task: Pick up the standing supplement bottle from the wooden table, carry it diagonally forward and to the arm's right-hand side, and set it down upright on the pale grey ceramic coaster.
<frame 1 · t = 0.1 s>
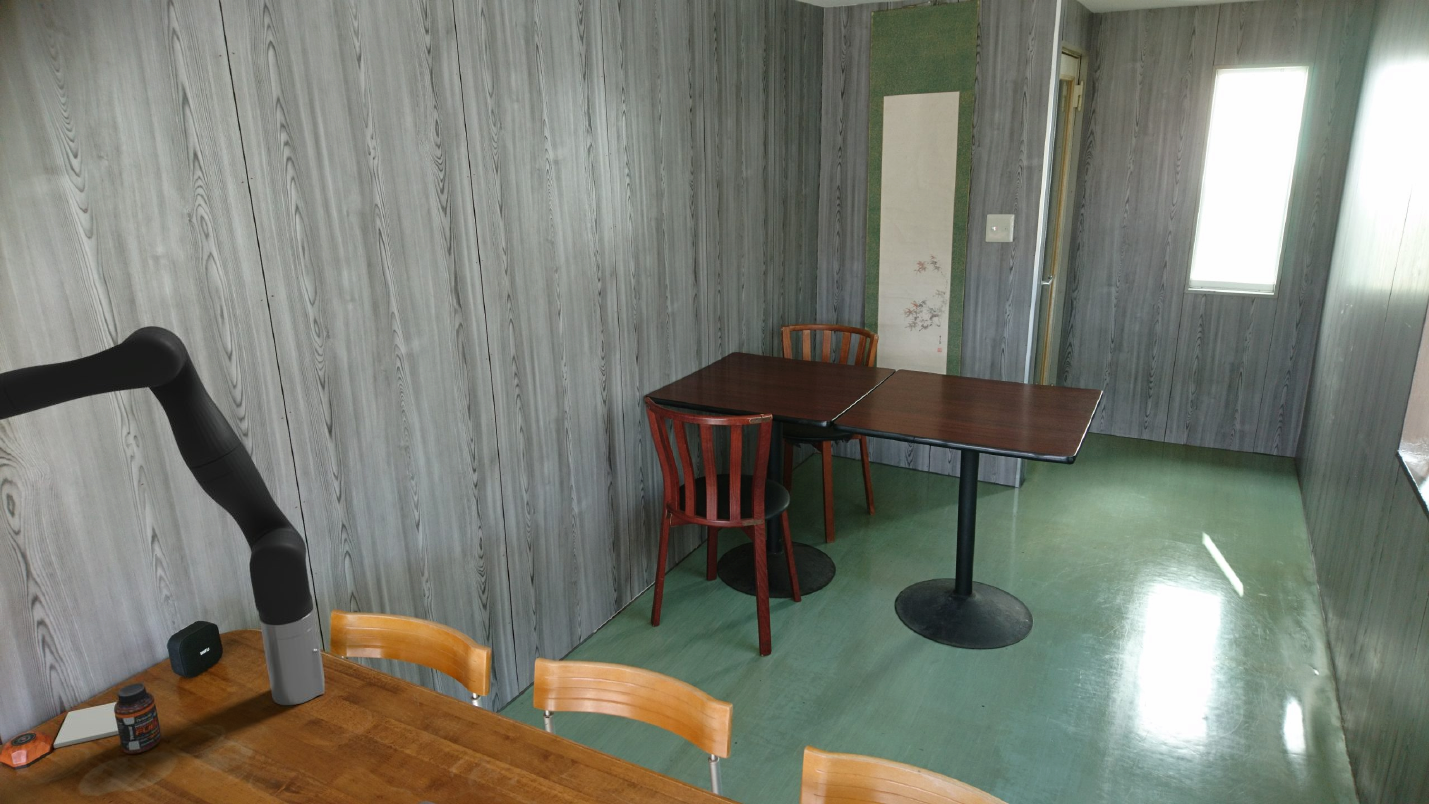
supplement bottle: (142, 745, 151), on the table
coaster: (95, 724, 156), on the table
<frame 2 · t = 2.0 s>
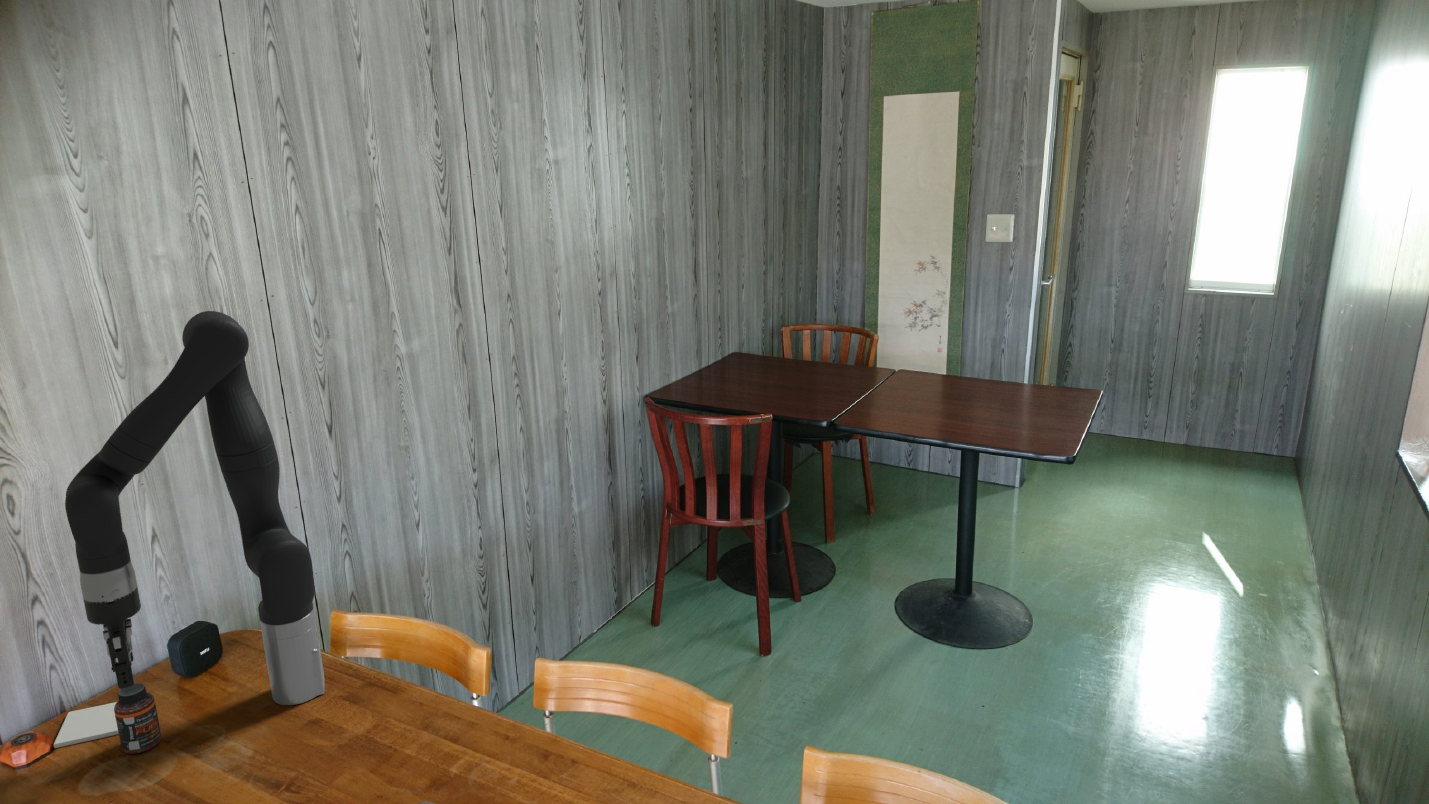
hand: (126, 674, 146), 14 cm above the table, tool pointing down, fingers open, 8 cm apart
nothing on the table moved.
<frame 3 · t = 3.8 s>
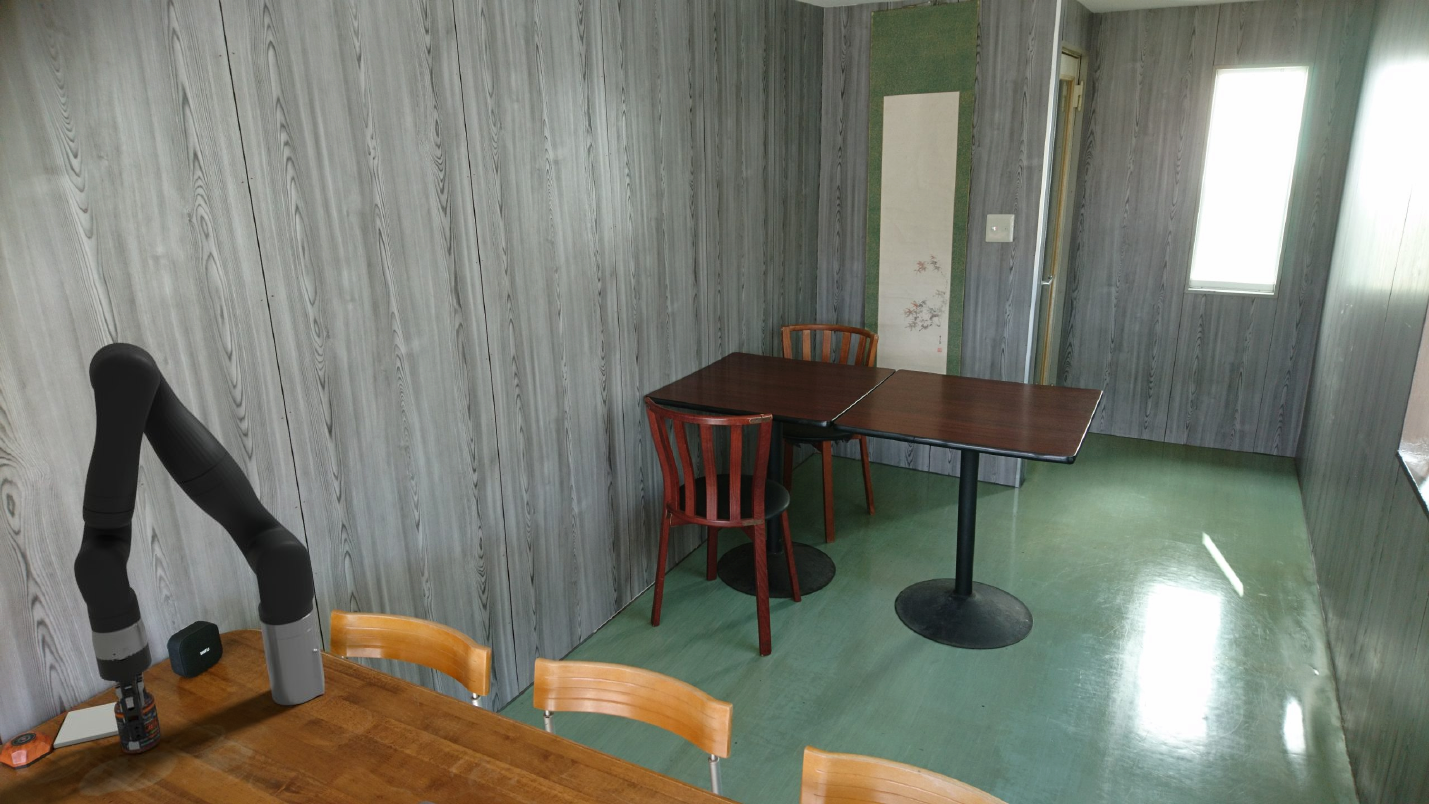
hand: (139, 729, 150), 3 cm above the table, tool pointing down, fingers closed on supplement bottle, 6 cm apart
supplement bottle: (142, 745, 151), on the table, touching gripper
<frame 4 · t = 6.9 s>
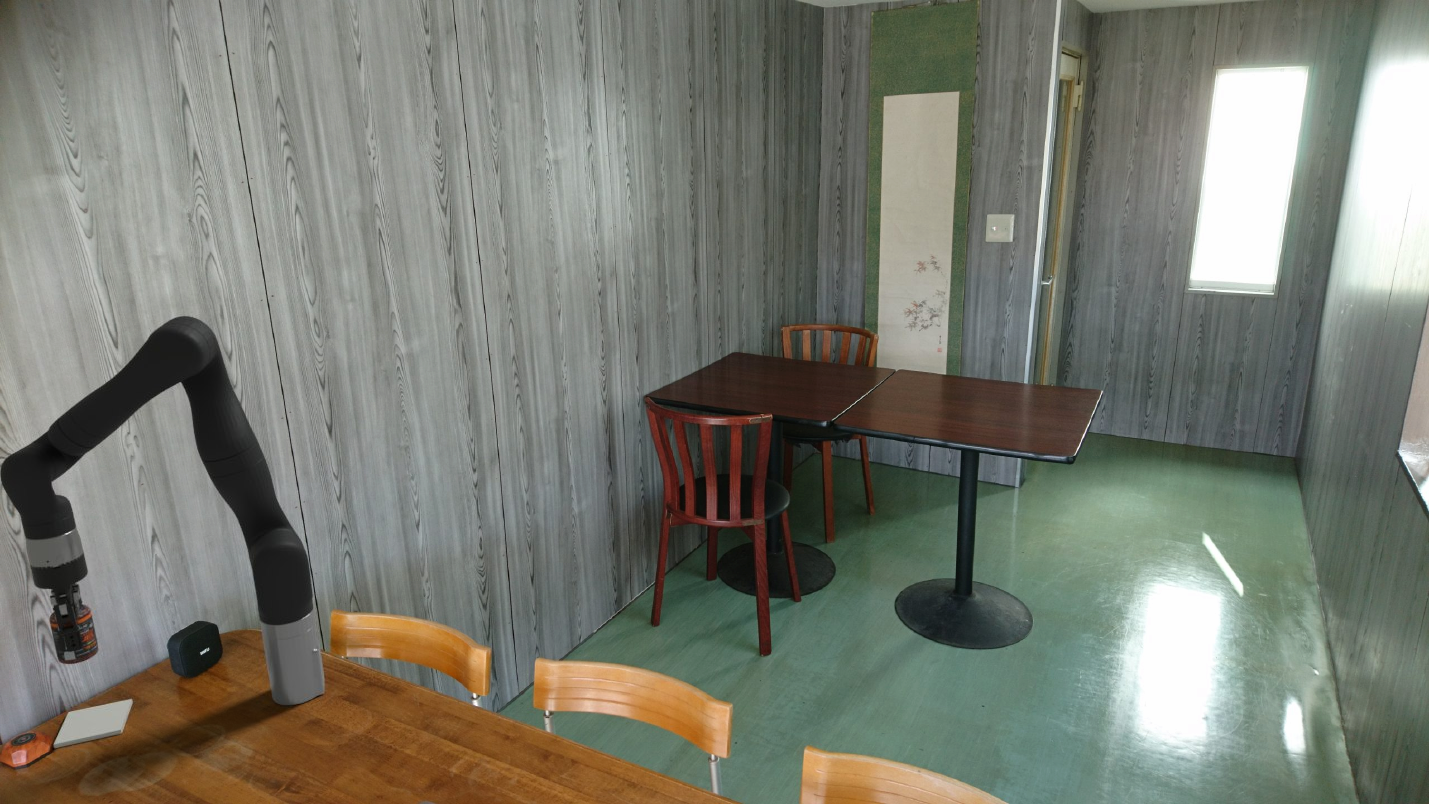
hand: (76, 641, 151), 17 cm above the table, tool pointing down, fingers closed on supplement bottle, 6 cm apart
supplement bottle: (79, 657, 152), point 14 cm above the table, touching gripper
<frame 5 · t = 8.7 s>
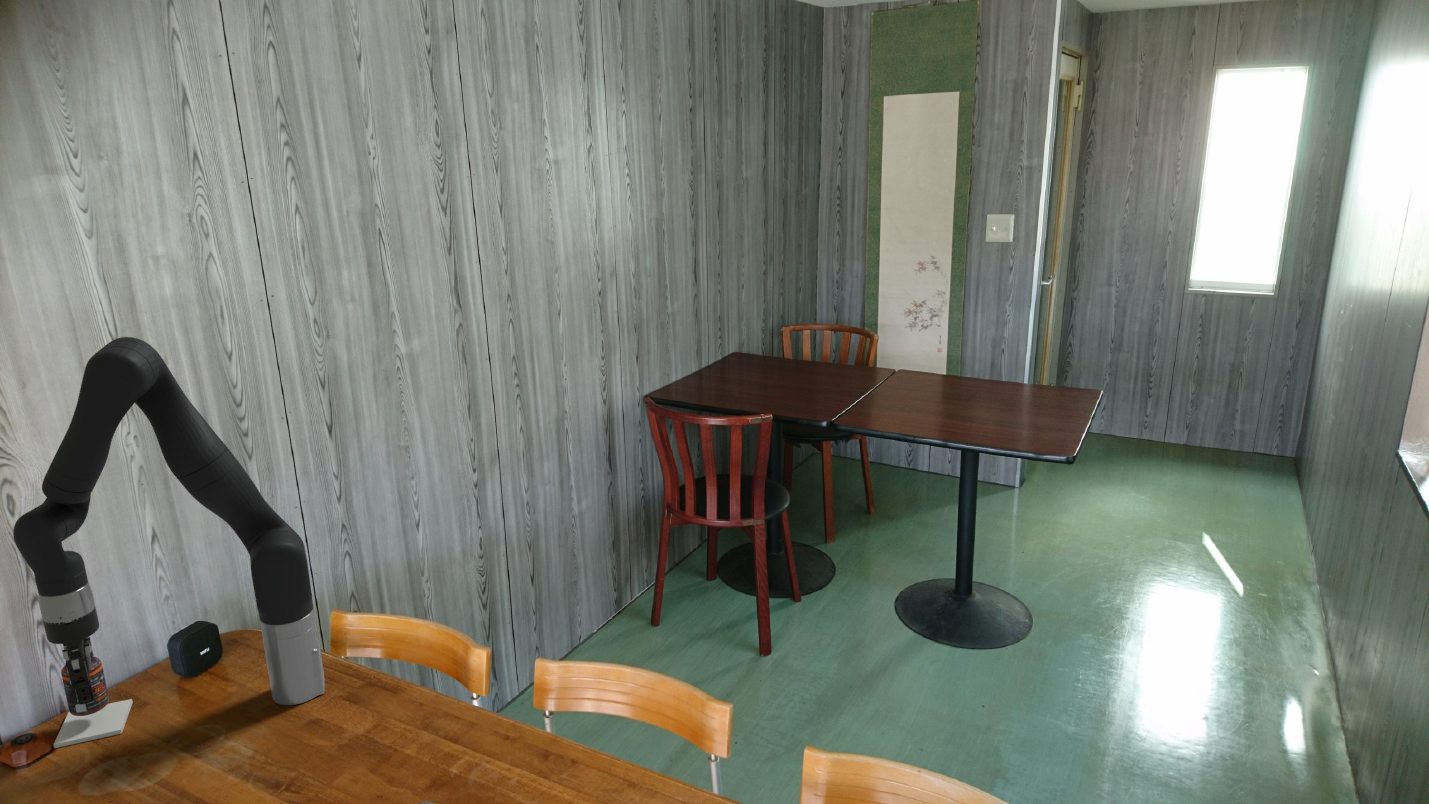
hand: (87, 692, 154), 7 cm above the table, tool pointing down, fingers closed on supplement bottle, 6 cm apart
supplement bottle: (90, 708, 155), point 4 cm above the table, touching gripper
when the fingers open (5 cm above the table, at t = 10.0 s): supplement bottle drops 1 cm, resting on coaster.
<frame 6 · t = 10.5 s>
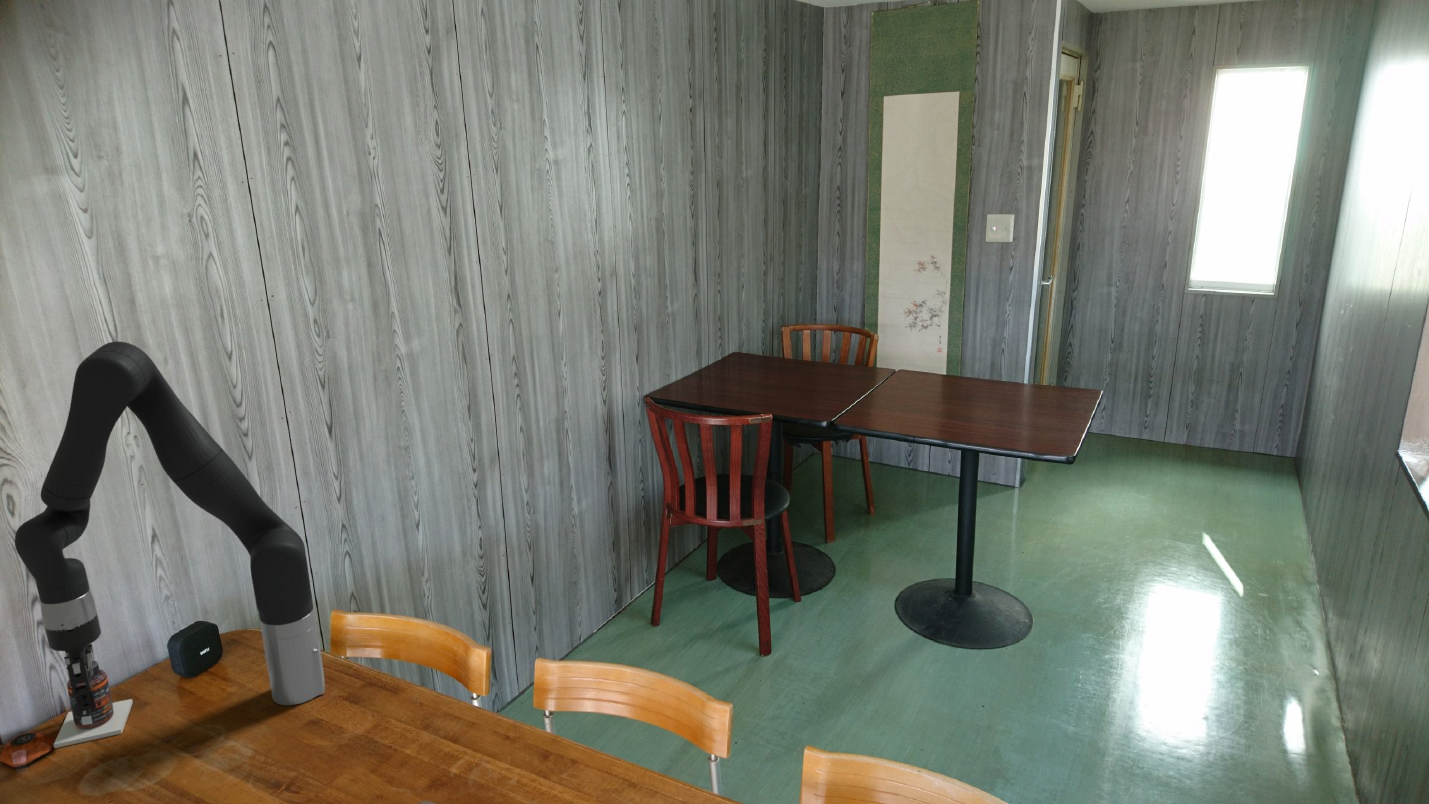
hand: (88, 696, 154), 6 cm above the table, tool pointing down, fingers open, 8 cm apart
supplement bottle: (95, 720, 156), point 1 cm above the table, touching coaster
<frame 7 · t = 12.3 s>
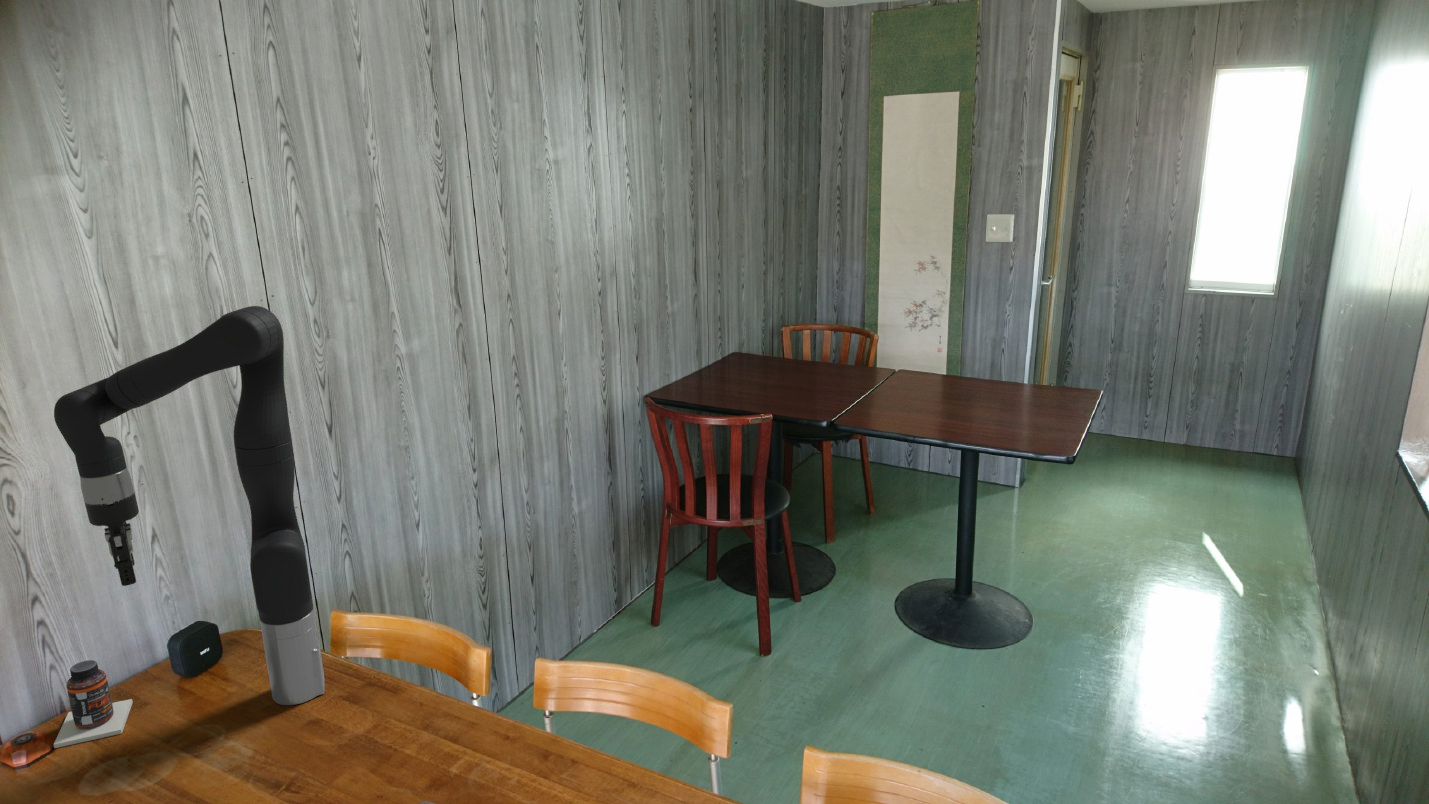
hand: (128, 575, 158), 26 cm above the table, tool pointing down, fingers open, 8 cm apart
nothing on the table moved.
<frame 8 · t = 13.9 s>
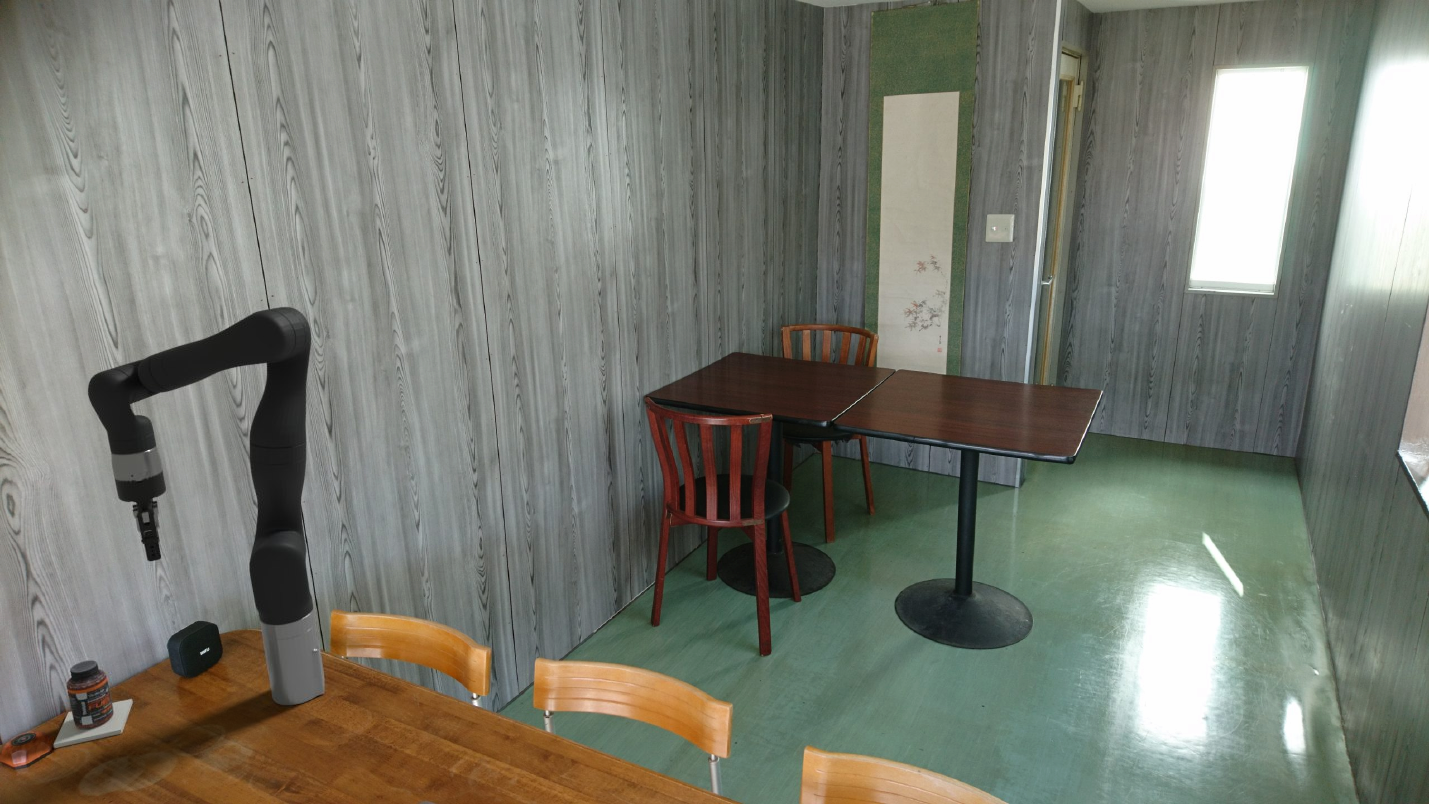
hand: (153, 551, 162), 28 cm above the table, tool pointing down, fingers open, 8 cm apart
nothing on the table moved.
at the end: supplement bottle 0.2 cm off-centre on the coaster, point 0.6 cm above the coaster's base; supplement bottle tilted 0°; the gripper is holding nothing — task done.
